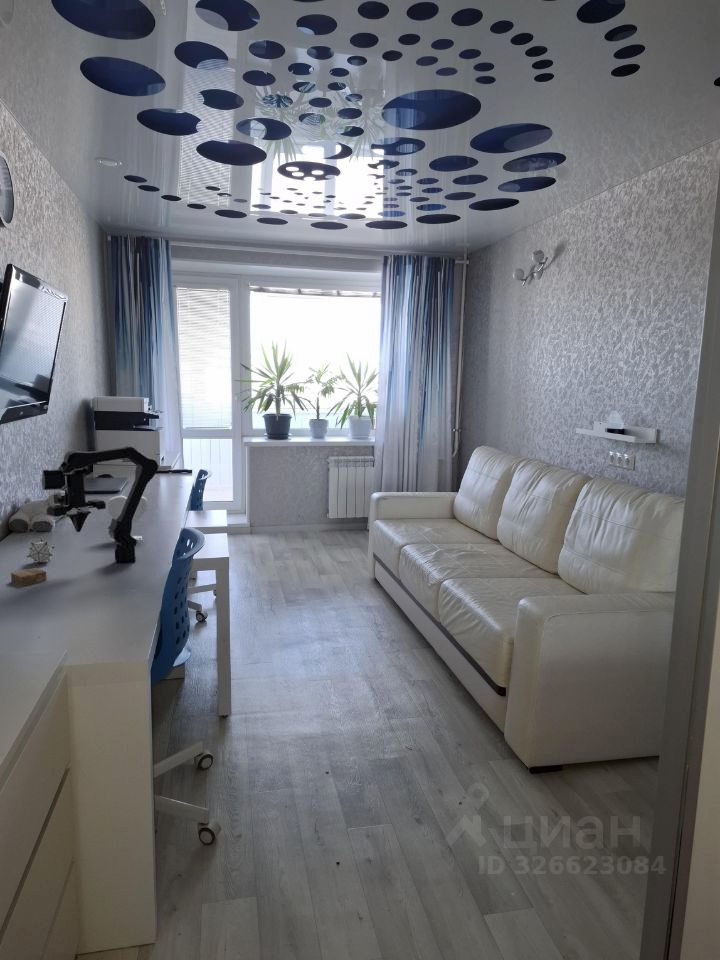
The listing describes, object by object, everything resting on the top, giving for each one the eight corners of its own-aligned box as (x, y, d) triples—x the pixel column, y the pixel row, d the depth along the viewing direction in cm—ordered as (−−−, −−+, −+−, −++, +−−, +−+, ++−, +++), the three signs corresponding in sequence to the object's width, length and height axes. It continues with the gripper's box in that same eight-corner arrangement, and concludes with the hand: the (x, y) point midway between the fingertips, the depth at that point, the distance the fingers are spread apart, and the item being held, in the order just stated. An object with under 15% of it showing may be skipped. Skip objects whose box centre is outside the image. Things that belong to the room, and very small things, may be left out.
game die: (37, 574, 231) (17, 555, 225) (41, 559, 238) (22, 541, 232) (59, 562, 230) (39, 543, 225) (62, 548, 237) (43, 529, 232)
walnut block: (35, 567, 216) (10, 572, 209) (46, 571, 212) (21, 577, 205) (36, 576, 216) (11, 582, 210) (46, 580, 212) (21, 586, 206)
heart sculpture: (108, 541, 263) (106, 497, 261) (109, 538, 268) (107, 495, 265) (148, 538, 268) (146, 496, 265) (148, 536, 273) (147, 494, 270)
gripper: (88, 482, 234) (90, 524, 236) (37, 488, 219) (40, 533, 221) (105, 485, 227) (107, 528, 229) (53, 492, 212) (56, 538, 215)
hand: (78, 531), depth 224 cm, fingers closed
